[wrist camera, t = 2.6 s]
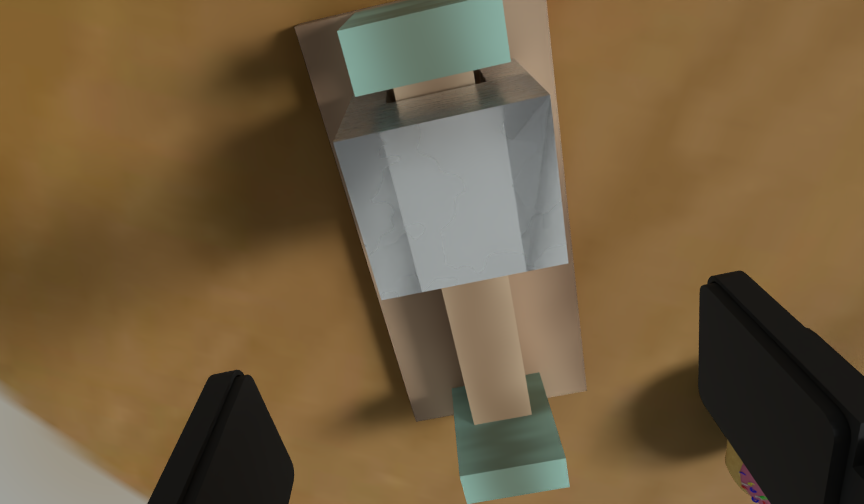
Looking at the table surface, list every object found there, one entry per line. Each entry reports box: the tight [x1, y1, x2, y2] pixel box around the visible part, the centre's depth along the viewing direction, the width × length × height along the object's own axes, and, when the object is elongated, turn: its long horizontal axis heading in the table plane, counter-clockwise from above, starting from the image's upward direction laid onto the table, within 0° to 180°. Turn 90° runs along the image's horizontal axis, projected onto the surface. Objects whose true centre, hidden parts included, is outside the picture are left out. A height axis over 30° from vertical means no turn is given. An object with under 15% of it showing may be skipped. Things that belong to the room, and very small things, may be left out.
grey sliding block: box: [333, 58, 568, 300], centre depth 21 cm, size 7×6×7 cm
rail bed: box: [294, 0, 587, 504], centre depth 25 cm, size 10×22×7 cm, turn 12°
